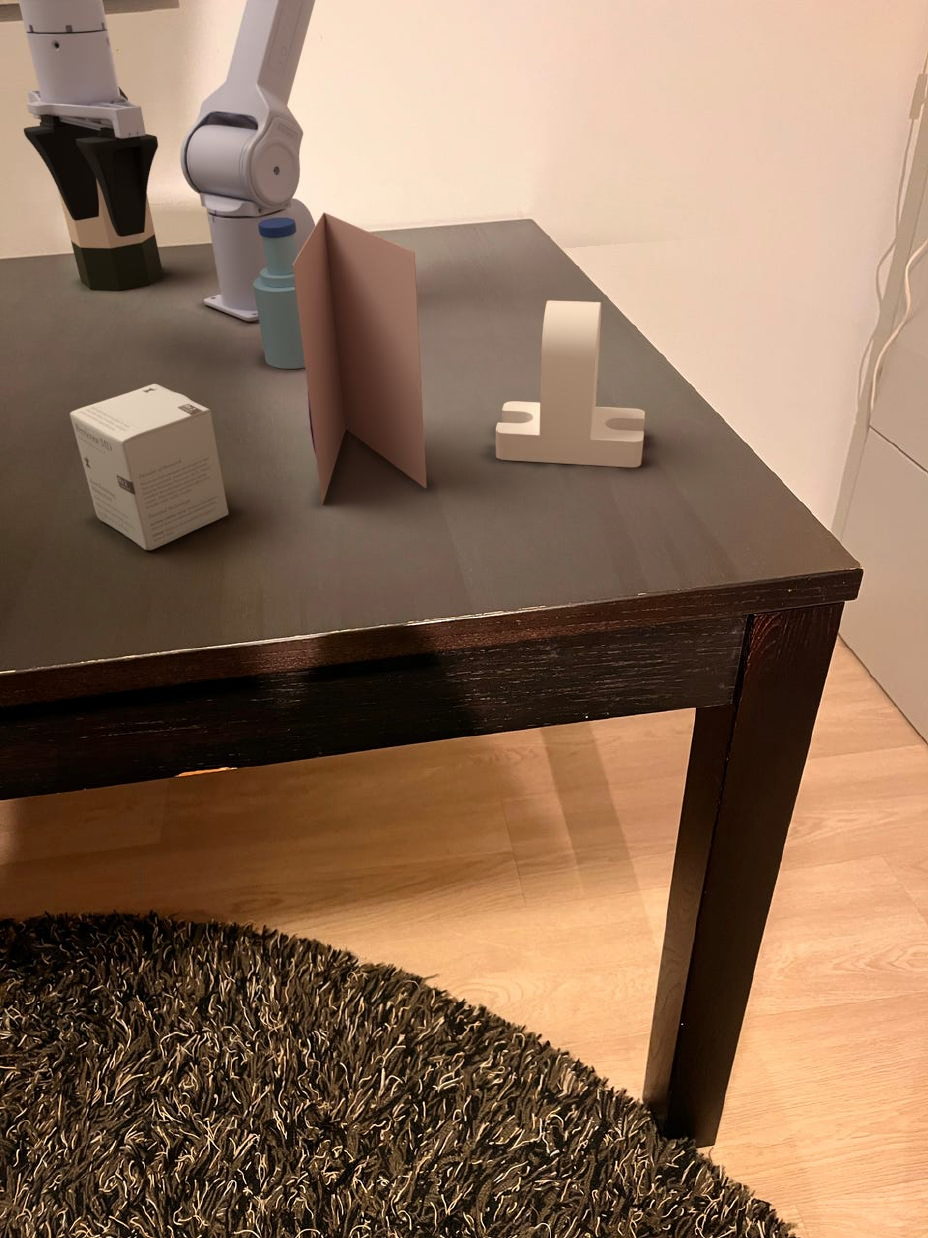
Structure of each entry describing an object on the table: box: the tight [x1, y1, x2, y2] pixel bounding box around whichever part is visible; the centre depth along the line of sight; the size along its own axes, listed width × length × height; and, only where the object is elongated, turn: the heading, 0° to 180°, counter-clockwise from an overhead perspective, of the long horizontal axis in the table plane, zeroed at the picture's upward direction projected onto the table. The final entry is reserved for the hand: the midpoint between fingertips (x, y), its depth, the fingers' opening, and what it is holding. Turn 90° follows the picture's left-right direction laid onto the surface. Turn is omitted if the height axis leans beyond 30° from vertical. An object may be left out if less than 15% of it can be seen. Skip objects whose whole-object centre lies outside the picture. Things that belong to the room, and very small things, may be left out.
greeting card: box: [293, 212, 427, 505], centre depth 62 cm, size 11×7×15 cm, turn 178°
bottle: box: [253, 218, 305, 370], centre depth 80 cm, size 5×5×11 cm
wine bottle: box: [39, 86, 164, 292], centre depth 94 cm, size 8×8×30 cm
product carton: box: [69, 383, 229, 551], centre depth 59 cm, size 6×6×7 cm
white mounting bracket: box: [495, 300, 646, 468], centre depth 65 cm, size 5×10×10 cm, turn 80°
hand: (107, 225), depth 79 cm, fingers open, 7 cm apart
